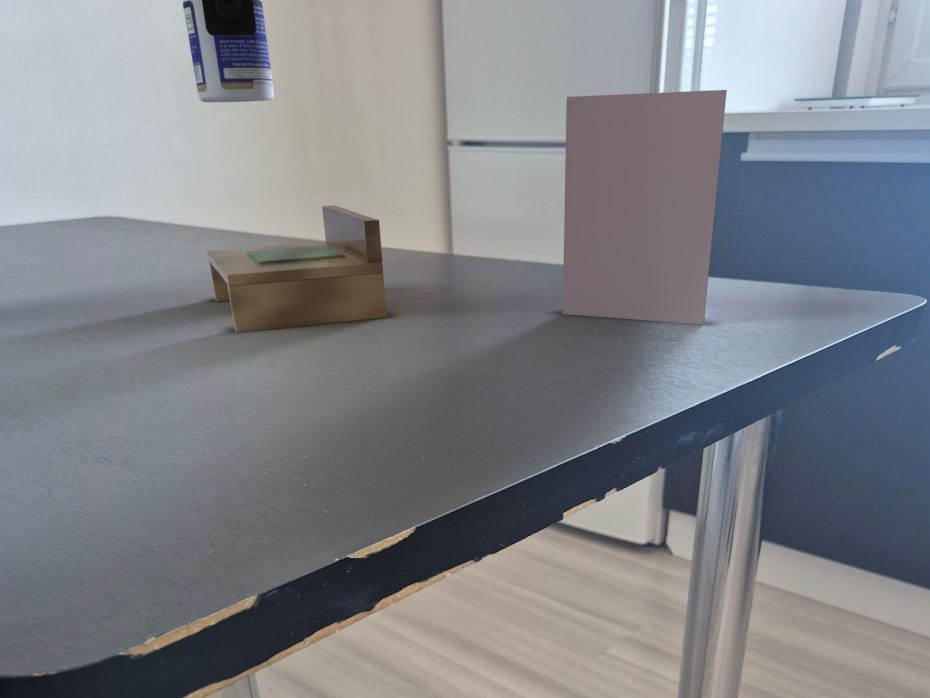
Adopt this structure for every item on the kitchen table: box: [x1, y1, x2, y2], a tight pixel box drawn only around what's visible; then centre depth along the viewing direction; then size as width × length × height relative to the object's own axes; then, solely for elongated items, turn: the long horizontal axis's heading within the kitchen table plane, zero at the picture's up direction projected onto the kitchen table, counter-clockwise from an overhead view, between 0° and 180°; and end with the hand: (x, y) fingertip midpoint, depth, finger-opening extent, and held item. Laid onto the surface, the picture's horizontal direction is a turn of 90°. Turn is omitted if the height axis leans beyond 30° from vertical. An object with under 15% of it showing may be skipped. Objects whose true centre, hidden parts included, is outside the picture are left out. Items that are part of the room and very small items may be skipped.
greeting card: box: [562, 89, 728, 325], centre depth 64 cm, size 11×7×15 cm, turn 26°
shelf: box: [206, 204, 388, 333], centre depth 74 cm, size 12×16×7 cm
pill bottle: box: [182, 0, 275, 103], centre depth 60 cm, size 5×5×9 cm
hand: (227, 35), depth 60 cm, fingers closed on pill bottle, 5 cm apart
